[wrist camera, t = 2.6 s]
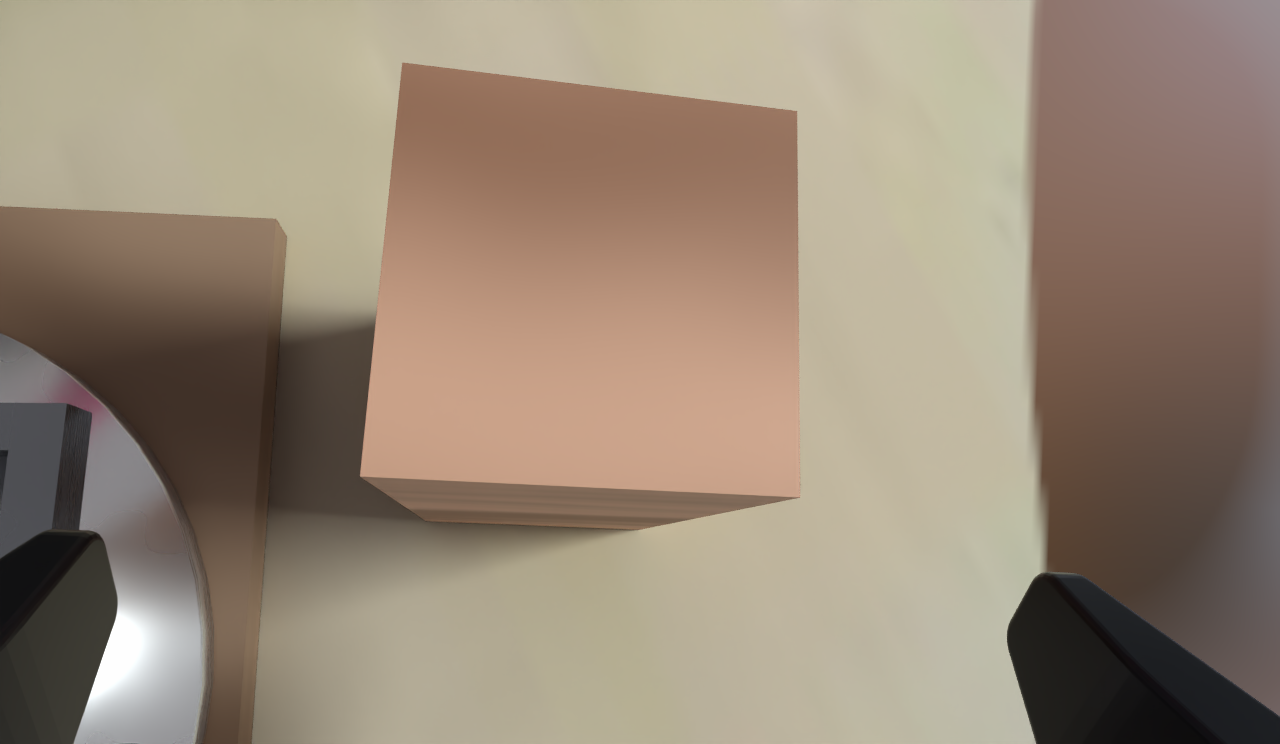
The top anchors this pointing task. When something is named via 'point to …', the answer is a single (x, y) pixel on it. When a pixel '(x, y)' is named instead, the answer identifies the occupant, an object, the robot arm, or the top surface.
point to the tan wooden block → (584, 305)
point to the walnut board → (172, 378)
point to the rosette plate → (111, 546)
